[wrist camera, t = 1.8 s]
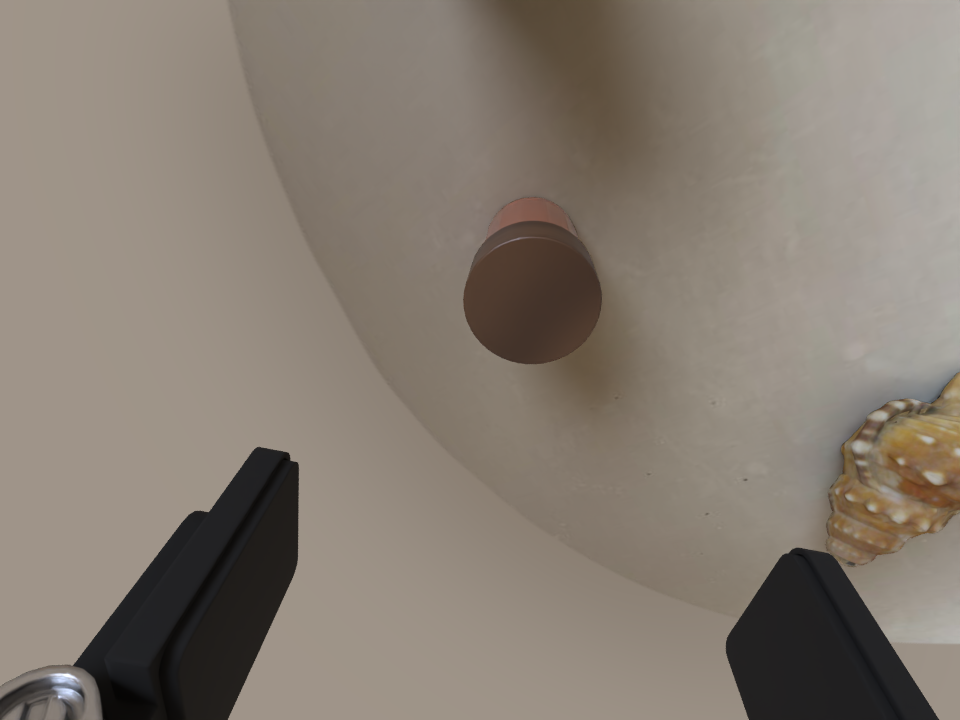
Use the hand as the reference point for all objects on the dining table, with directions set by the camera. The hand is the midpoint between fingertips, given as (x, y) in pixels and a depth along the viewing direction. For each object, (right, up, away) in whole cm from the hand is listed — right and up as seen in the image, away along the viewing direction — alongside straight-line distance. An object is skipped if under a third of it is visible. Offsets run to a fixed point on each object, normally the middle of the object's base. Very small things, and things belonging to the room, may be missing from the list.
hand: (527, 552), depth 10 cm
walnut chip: (+1, +7, +12) cm, 14 cm away
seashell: (+23, -1, +21) cm, 31 cm away
